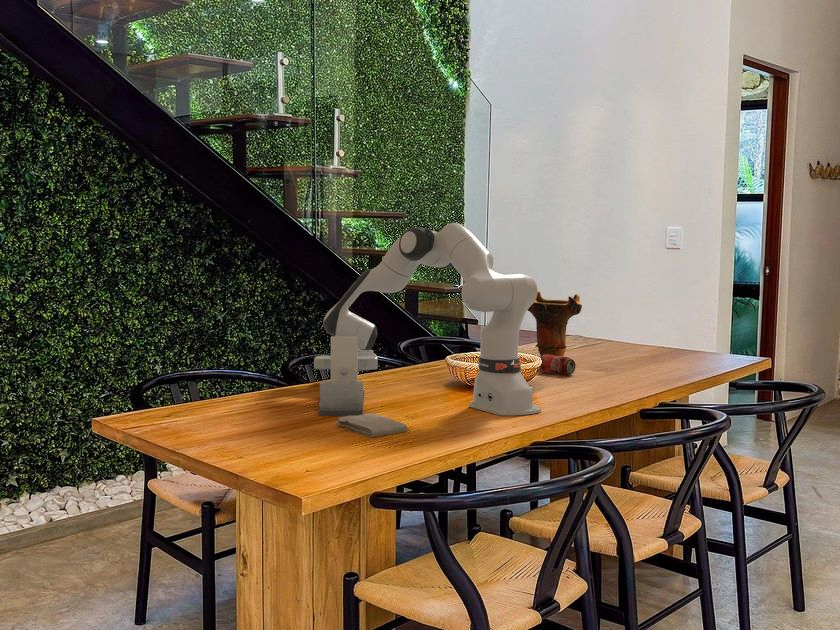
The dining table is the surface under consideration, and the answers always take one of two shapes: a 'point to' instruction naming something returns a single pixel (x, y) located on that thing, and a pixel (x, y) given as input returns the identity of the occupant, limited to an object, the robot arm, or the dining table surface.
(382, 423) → the washcloth
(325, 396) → the base
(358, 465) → the dining table surface
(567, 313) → the decorative vase
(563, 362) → the beverage can
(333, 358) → the upright white panel
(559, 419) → the dining table surface
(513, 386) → the robot arm
